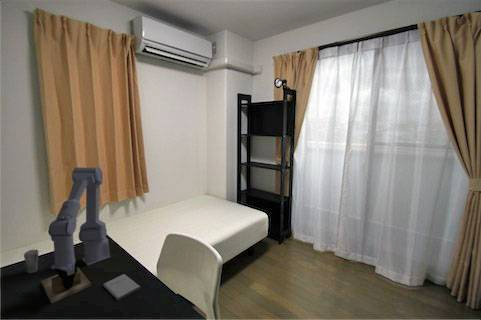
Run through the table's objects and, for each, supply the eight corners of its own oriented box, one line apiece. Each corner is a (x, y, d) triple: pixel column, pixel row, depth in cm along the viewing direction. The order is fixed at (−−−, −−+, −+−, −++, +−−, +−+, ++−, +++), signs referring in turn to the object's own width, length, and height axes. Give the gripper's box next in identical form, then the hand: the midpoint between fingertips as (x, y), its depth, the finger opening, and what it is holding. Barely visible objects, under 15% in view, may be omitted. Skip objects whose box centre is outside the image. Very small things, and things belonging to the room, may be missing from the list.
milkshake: (32, 275, 92) (30, 252, 91) (22, 273, 93) (20, 250, 92) (44, 268, 96) (42, 247, 95) (34, 267, 97) (32, 245, 96)
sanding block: (77, 279, 88) (77, 268, 88) (81, 283, 86) (80, 272, 85) (51, 289, 82) (51, 278, 82) (54, 294, 80) (53, 282, 79)
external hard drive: (118, 302, 79) (103, 287, 86) (140, 289, 85) (124, 277, 93) (117, 298, 79) (103, 283, 86) (140, 286, 85) (124, 273, 93)
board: (78, 269, 96) (77, 267, 96) (91, 285, 86) (90, 283, 86) (41, 283, 87) (41, 280, 87) (51, 303, 77) (51, 300, 77)
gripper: (45, 248, 84) (48, 281, 85) (55, 262, 75) (58, 299, 76) (68, 241, 89) (71, 273, 91) (80, 254, 80) (82, 289, 82)
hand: (66, 284), depth 84 cm, fingers closed on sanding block, 4 cm apart
